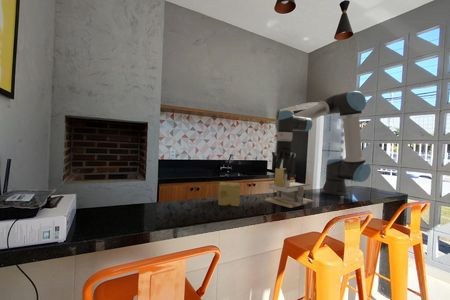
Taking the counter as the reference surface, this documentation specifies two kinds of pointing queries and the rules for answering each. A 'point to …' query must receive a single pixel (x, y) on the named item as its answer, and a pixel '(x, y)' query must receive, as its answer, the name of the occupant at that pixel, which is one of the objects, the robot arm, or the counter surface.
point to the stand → (290, 198)
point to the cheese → (228, 193)
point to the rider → (280, 177)
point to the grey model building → (291, 188)
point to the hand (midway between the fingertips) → (281, 185)
